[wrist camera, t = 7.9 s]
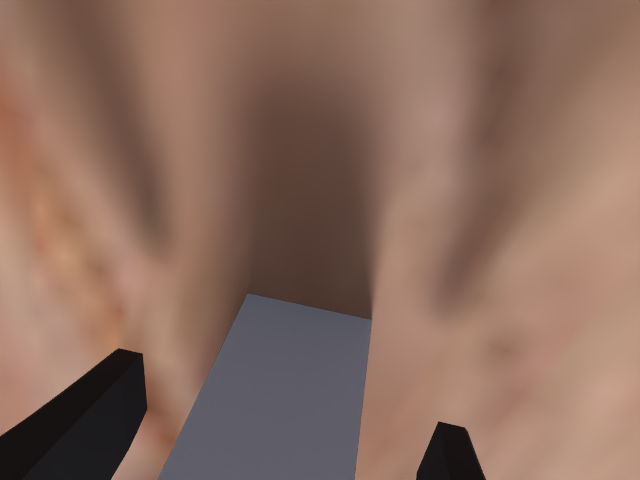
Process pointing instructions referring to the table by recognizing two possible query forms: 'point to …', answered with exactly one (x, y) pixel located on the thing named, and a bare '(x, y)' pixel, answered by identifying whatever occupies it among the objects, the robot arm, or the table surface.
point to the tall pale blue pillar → (278, 398)
